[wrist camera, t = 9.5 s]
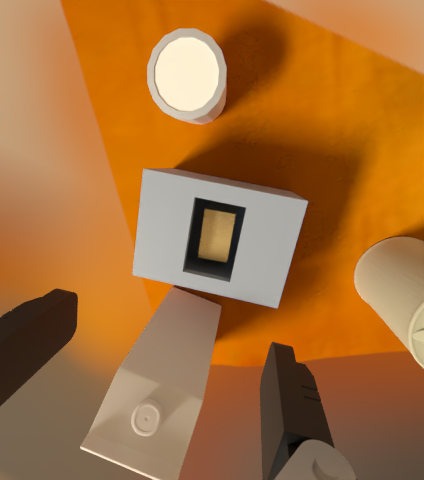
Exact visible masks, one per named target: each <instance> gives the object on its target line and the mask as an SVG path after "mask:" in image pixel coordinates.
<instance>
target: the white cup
mask: <svg viewBox="0 0 424 480" xmlns="http://www.w3.org/2000/svg"><path fill="white" fill-rule="evenodd" d="M226 80H227V67H226V64H225V60H224V57H223V53H222V50H221V49H220V48H219V46H218V45H217V44H216V42H215V41H214V40H213V39H212V37H211V36H209V35H207V34H205V33H203V32H201V31H199V30H198V29H177V30H175V31H173V32H171V33H169V34H167V35H165V36H164V37H163V38H162V39H161V41H160V42H159V43H158V44H157V45H156V46H155V48H154V49H153V51H152V54H151V57H150V60H149V63H148V66H147V84H148V86H149V89H150V92H151V95H152V98H153V100H154V101H155V102H156V104H157V105H158V106H159V107H160V108H161V110H162V111H163V112H164V113H166V114H168V115H170V116H172V117H174V118H176V119H179V120H182V121H186V122H190V123H193V124H206V123H209V122H211V121H214V120H215V119H216V118H217V117H218V116H219V115H220V114H221V112H222V110H223V108H224V106H225V103H226Z"/></svg>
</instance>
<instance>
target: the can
mask: <svg viewBox="0 0 424 480" xmlns="http://www.w3.org/2000/svg"><path fill="white" fill-rule="evenodd" d="M354 283H355V287H356V289H357V292H358V293H359V295H360V296H361V298H362V299H363V300H364V301H365V302H367V303H368V304H369V305H370V306H371V307H372V308H373V309H374V310H375V311H376V312H377V314H378V315H379V316H380V317H381V318H382V319H383V320H384V322H385V323H386V324H387V325H388V326H389V327H390V329H391V330H392V331H393V332H394V333H395V334H396V336H397V337H398V338H399V339H400V340H401V342H402V343H403V344H404V345H405V346H406V347H407V349H408V350H409V351H410V352H411V354H412V355H413V357H414V358H415V360H416V361H417V362H418V363H419V364H420V365H421V366H422V367H423V368H424V241H422V240H419V239H416V238H412V237H393V238H388V239H385V240H382V241H380V242H378V243H376V244H375V245H373V246H372V247H370V248H369V249H368V250H367V251H366V252H365V253H364V254H363V255H362V256H361V258H360V259H359V261H358V263H357V265H356V268H355V272H354Z"/></svg>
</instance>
